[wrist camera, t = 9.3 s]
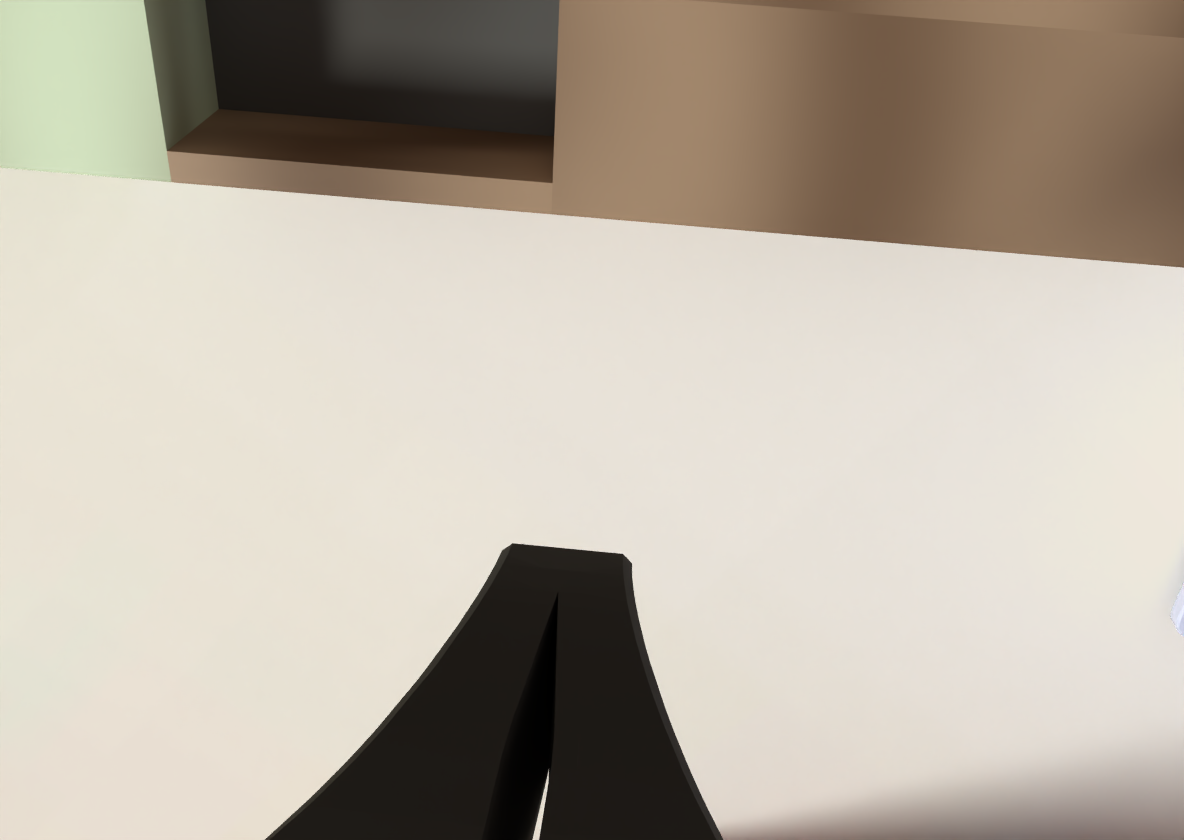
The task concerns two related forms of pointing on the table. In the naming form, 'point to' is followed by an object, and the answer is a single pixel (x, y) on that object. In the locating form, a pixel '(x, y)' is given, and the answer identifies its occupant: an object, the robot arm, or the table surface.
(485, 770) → the robot arm
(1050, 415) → the table surface
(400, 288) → the table surface
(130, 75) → the trap board
